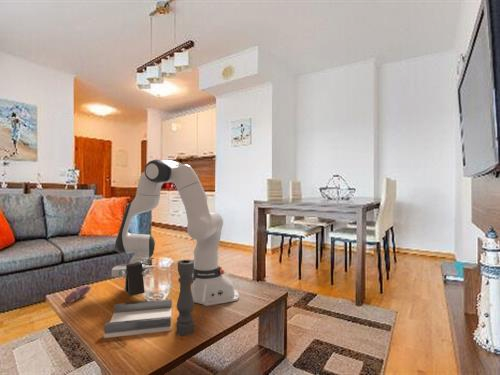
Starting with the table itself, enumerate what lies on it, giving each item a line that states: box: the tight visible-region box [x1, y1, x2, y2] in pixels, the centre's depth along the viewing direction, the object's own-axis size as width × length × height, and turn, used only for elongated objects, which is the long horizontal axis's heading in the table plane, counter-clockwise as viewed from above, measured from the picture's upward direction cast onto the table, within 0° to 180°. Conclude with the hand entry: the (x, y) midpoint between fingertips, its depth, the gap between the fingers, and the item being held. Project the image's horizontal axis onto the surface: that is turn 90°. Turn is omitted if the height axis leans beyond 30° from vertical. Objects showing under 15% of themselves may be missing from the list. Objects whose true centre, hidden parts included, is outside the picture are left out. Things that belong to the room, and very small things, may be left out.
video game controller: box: [64, 284, 91, 303], centre depth 128 cm, size 10×5×7 cm, turn 169°
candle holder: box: [175, 259, 195, 337], centre depth 102 cm, size 6×6×25 cm
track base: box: [103, 308, 173, 339], centre depth 109 cm, size 22×19×1 cm
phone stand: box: [124, 262, 145, 297], centre depth 122 cm, size 9×6×12 cm, turn 35°
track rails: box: [103, 298, 173, 335], centre depth 108 cm, size 22×17×3 cm
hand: (134, 275), depth 122 cm, fingers closed on phone stand, 6 cm apart
